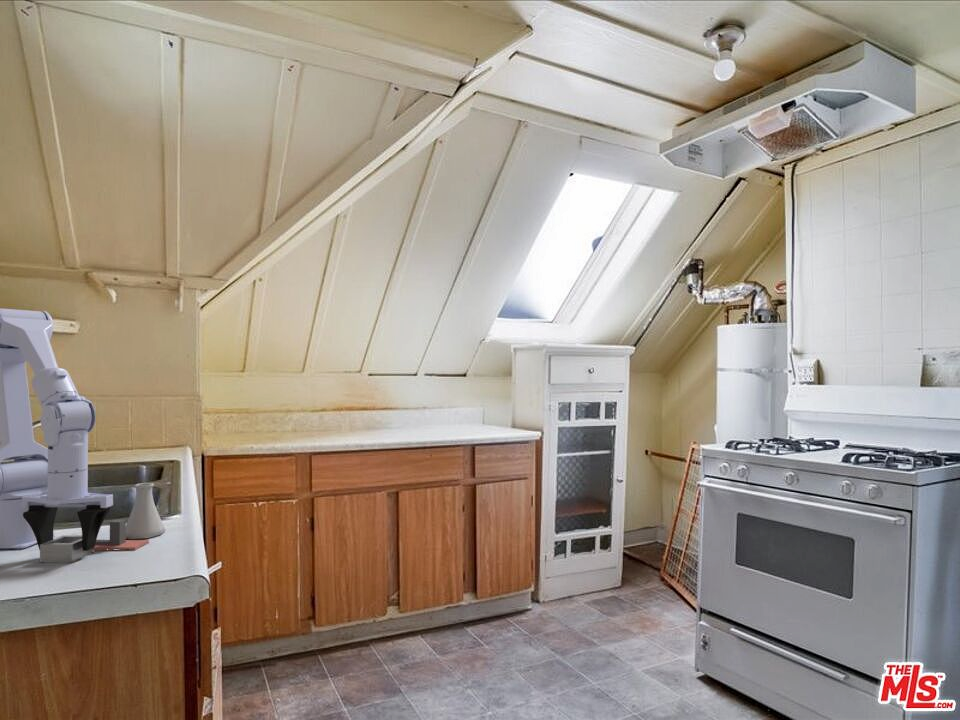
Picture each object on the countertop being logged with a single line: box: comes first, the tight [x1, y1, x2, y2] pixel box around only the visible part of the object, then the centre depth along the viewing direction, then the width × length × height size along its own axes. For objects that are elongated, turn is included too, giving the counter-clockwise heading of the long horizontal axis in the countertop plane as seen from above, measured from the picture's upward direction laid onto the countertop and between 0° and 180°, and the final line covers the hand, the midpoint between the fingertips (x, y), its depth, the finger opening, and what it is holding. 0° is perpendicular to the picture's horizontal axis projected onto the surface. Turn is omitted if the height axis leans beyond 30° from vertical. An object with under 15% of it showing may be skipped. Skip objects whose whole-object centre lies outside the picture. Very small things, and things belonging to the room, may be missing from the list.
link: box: [39, 534, 94, 563], centre depth 101 cm, size 5×5×3 cm
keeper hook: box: [93, 519, 150, 551], centre depth 107 cm, size 10×4×5 cm, turn 90°
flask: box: [126, 482, 166, 540], centre depth 114 cm, size 7×7×10 cm
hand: (67, 549), depth 101 cm, fingers open, 7 cm apart
